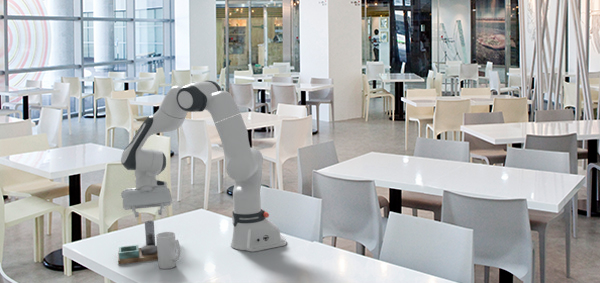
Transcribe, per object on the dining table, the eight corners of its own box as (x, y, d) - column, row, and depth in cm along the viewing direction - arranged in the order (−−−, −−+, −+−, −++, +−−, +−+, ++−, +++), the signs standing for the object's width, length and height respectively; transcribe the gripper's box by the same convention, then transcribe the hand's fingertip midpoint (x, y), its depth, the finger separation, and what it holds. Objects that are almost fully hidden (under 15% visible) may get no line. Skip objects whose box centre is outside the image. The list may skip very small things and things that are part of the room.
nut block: (157, 249, 228) (157, 239, 227) (159, 259, 216) (159, 249, 216) (118, 254, 223) (118, 244, 223) (118, 264, 212) (117, 254, 211)
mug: (154, 267, 208) (152, 235, 206) (167, 261, 214) (165, 230, 212) (175, 272, 203) (173, 239, 202) (187, 265, 209) (185, 234, 207)
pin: (155, 243, 235) (153, 220, 233) (155, 246, 231) (154, 222, 230) (146, 244, 234) (144, 221, 232) (146, 247, 230) (144, 223, 229)
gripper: (120, 185, 240) (122, 214, 232) (170, 181, 245) (173, 209, 238) (121, 193, 244) (123, 221, 237) (170, 189, 250) (173, 216, 243)
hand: (148, 215), depth 237 cm, fingers open, 8 cm apart
